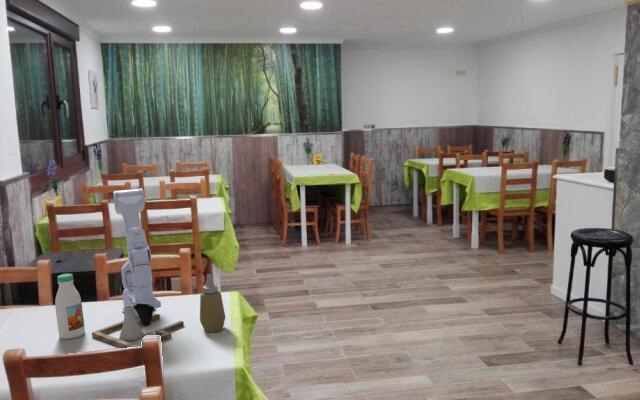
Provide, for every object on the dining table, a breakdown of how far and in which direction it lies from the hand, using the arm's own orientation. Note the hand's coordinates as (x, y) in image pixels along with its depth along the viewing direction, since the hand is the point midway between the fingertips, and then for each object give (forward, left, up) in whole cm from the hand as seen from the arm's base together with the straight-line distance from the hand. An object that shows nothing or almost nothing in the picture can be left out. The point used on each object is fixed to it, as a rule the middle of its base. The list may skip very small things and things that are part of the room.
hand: (146, 325), depth 179 cm
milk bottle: (-19, -15, -2) cm, 24 cm away
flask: (0, -6, -2) cm, 6 cm away
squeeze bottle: (+18, +12, -2) cm, 22 cm away
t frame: (0, -2, -2) cm, 3 cm away
